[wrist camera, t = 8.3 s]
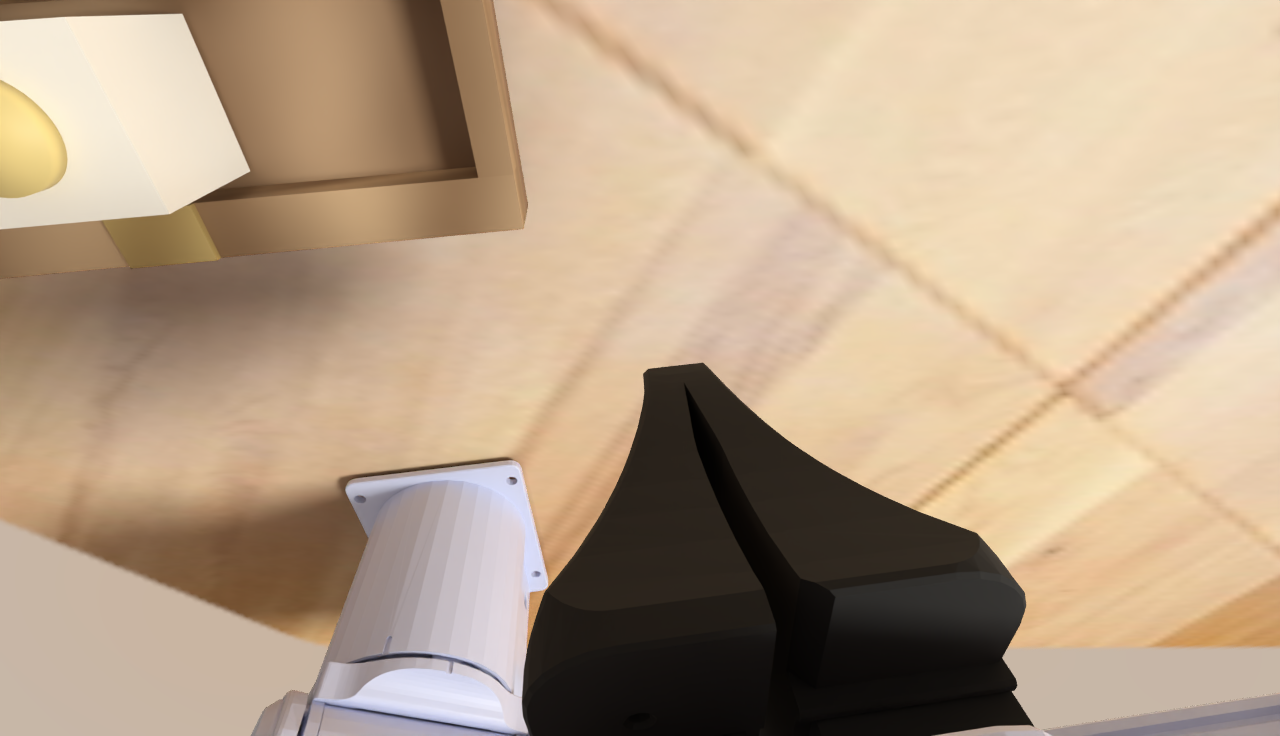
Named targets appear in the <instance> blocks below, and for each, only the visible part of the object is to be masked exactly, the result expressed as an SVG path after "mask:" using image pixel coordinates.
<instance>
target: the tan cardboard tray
mask: <svg viewBox="0 0 1280 736" xmlns="http://www.w3.org/2000/svg"><path fill="white" fill-rule="evenodd" d="M155 14H183V16H184V19H185V21H186V23H187V26H188V28H189V30H190V33H191V35H192V37H193V40H194V42H195V44H196V46H197V49H198V51H199V53H200V56H201V58H202V60H203V63H204V65H205V67H206V70H207V72H208V74H209V76H210V79H211V81H212V83H213V86H214V88H215V90H216V93H217V95H218V97H219V100H220V102H221V104H222V107H223V109H224V111H225V113H226V116H227V118H228V120H229V123H230V125H231V127H232V130H233V132H234V134H235V137H236V139H237V141H238V144H239V146H240V148H241V150H242V153H243V155H244V157H245V160H246V162H247V164H248V167H249V169H250V172H248V173H246V174H244V175H242V176H241V177H239V178H237V179H235V180H233V181H231V182H229V183H227V184H225V185H224V186H222V187H220V188H218V189H216V190H214V191H212V192H210V193H209V194H207V195H205V196H203V197H201V198H199V199H197V200H195V201H193V202H192V203H190V204H188V205H186V206H184V207H182V208H180V209H178V210H177V211H175V212H173V213H171V214H166V215H155V216H143V217H132V218H121V219H110V220H99V221H88V222H77V223H66V224H55V225H44V226H33V227H21V228H10V229H0V279H3V278H13V277H24V276H34V275H45V274H55V273H66V272H76V271H87V270H97V269H108V268H118V267H129V266H130V268H131V269H132V268H143V267H153V266H164V265H174V264H185V263H195V262H206V261H216V260H219V259H220V258H224V257H234V256H245V255H255V254H266V253H276V252H287V251H297V250H308V249H318V248H329V247H339V246H350V245H360V244H371V243H381V242H392V241H402V240H413V239H423V238H434V237H444V236H455V235H466V234H476V233H487V232H497V231H508V230H518V229H524V224H525V218H526V213H527V208H528V202H527V196H526V190H525V185H524V179H523V173H522V167H521V161H520V155H519V150H518V144H517V138H516V132H515V126H514V120H513V115H512V109H511V103H510V97H509V91H508V85H507V80H506V74H505V68H504V62H503V56H502V50H501V45H500V39H499V33H498V27H497V21H496V15H495V10H494V4H493V0H0V21H13V20H28V19H42V18H57V17H81V16H118V15H155Z"/></svg>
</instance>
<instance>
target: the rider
mask: <svg viewBox="0 0 1280 736" xmlns="http://www.w3.org/2000/svg"><path fill="white" fill-rule="evenodd" d="M248 172H250V169H249V167H248V164H247V162H246V160H245V157H244V155H243V153H242V150H241V148H240V146H239V144H238V141H237V139H236V137H235V134H234V132H233V130H232V127H231V125H230V123H229V120H228V118H227V116H226V113H225V111H224V109H223V107H222V104H221V102H220V100H219V97H218V95H217V93H216V90H215V88H214V86H213V83H212V81H211V79H210V76H209V74H208V72H207V70H206V67H205V65H204V63H203V60H202V58H201V56H200V53H199V51H198V49H197V46H196V44H195V42H194V40H193V37H192V35H191V33H190V30H189V28H188V26H187V23H186V21H185V19H184V16H183V14H155V15H118V16H81V17H57V18H42V19H28V20H13V21H0V229H10V228H21V227H33V226H44V225H55V224H66V223H77V222H88V221H99V220H110V219H121V218H132V217H143V216H155V215H166V214H171V213H173V212H175V211H177V210H178V209H180V208H182V207H184V206H186V205H188V204H190V203H192V202H193V201H195V200H197V199H199V198H201V197H203V196H205V195H207V194H209V193H210V192H212V191H214V190H216V189H218V188H220V187H222V186H224V185H225V184H227V183H229V182H231V181H233V180H235V179H237V178H239V177H241V176H242V175H244V174H246V173H248Z"/></svg>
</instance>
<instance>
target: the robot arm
mask: <svg viewBox="0 0 1280 736" xmlns="http://www.w3.org/2000/svg"><path fill="white" fill-rule="evenodd" d="M643 377H644V391H645V392H644V400H643V407H642V411H641V416H640V420H639V425H638V428H637V432H636V435H635V438H634V441H633V444H632V447H631V450H630V453H629V456H628V459H627V461H626V464H625V466H624V469H623V471H622V473H621V476H620V478H619V480H618V482H617V484H616V487H615V489H614V491H613V492H612V494H611V496H610V498H609V500H608V502H607V504H606V506H605V508H604V510H603V511H602V513H601V515H600V517H599V518H598V520H597V522H596V523H595V525H594V526H593V528H592V529H591V531H590V532H589V534H588V535H587V537H586V538H585V540H584V541H583V543H582V544H581V546H580V547H579V549H578V550H577V552H576V553H575V555H574V556H573V557H572V559H571V560H570V561H569V562H568V564H567V565H566V566H565V567H564V569H563V570H562V571H561V572H560V574H559V575H558V576H557V577H556V579H555V580H554V581H553V582H552V584H551V585H550V586H549V587H548V589H547V590H546V591H545V593H544V595H543V598H542V601H541V604H540V607H539V610H538V613H537V616H536V619H535V622H534V626H533V629H532V632H531V636H530V640H529V644H528V648H527V654H526V646H527V629H528V613H529V597H530V592H535V591H541V590H544V589H546V588H547V586H548V577H547V572H546V568H545V564H544V560H543V556H542V552H541V548H540V543H539V539H538V535H537V531H536V527H535V523H534V518H533V514H532V510H531V506H530V502H529V498H528V494H527V489H526V485H525V481H524V477H523V473H522V469H521V466H520V464H519V463H518V462H516V461H513V460H506V461H498V462H489V463H481V464H473V465H464V466H456V467H447V468H439V469H431V470H422V471H414V472H405V473H397V474H389V475H380V476H372V477H363V478H355V479H352V480H350V481H349V482H348V484H347V486H346V488H345V492H346V494H347V496H348V498H349V500H350V502H351V504H352V506H353V508H354V510H355V512H356V514H357V516H358V518H359V520H360V522H361V524H362V527H363V529H364V531H365V533H366V535H367V537H368V542H367V544H366V547H365V550H364V553H363V555H362V558H361V561H360V563H359V566H358V569H357V572H356V574H355V577H354V580H353V582H352V585H351V588H350V590H349V593H348V596H347V599H346V601H345V604H344V607H343V609H342V612H341V615H340V618H339V620H338V623H337V626H336V628H335V631H334V634H333V636H332V639H331V642H330V645H329V647H328V650H327V653H326V655H325V658H324V661H323V664H322V666H321V669H320V672H319V675H318V677H317V680H316V682H315V684H314V686H313V688H312V689H311V691H310V693H309V695H308V693H304V692H299V691H295V690H292V691H289V692H288V693H286V695H285V696H284V698H283V699H282V700H278V701H276V702H275V703H273V704H271V705H270V706H268V707H266V708H265V709H264V711H263V712H262V714H261V716H260V718H259V720H258V722H257V724H256V726H255V728H254V730H253V732H252V734H251V736H1280V693H1274V694H1268V695H1262V696H1255V697H1249V698H1242V699H1236V700H1230V701H1223V702H1217V703H1211V704H1204V705H1198V706H1191V707H1185V708H1179V709H1173V710H1165V711H1160V712H1153V713H1147V714H1140V715H1133V716H1127V717H1121V718H1114V719H1108V720H1101V721H1095V722H1089V723H1082V724H1076V725H1070V726H1063V727H1057V728H1050V729H1044V730H1040V729H1037V728H1035V727H1034V725H1033V724H1032V722H1031V721H1030V719H1029V718H1028V716H1027V715H1026V713H1025V712H1024V710H1023V709H1022V707H1021V705H1020V704H1019V702H1018V701H1017V699H1016V698H1015V696H1014V695H1013V693H1012V691H1014V690H1015V689H1016V687H1017V682H1016V678H1015V677H1014V675H1013V674H1012V672H1011V671H1010V669H1009V668H1008V667H1007V665H1006V664H1005V662H1004V660H1003V659H1002V657H1003V655H1004V653H1005V651H1006V649H1007V648H1008V646H1009V644H1010V642H1011V640H1012V638H1013V637H1014V635H1015V633H1016V631H1017V629H1018V627H1019V626H1020V623H1021V620H1022V617H1023V615H1024V612H1025V608H1026V600H1025V592H1024V591H1023V590H1022V588H1021V587H1020V586H1019V585H1018V583H1017V582H1016V581H1015V579H1014V578H1013V577H1012V576H1011V574H1010V573H1009V571H1008V570H1007V569H1006V567H1005V566H1004V565H1003V563H1002V562H1001V561H1000V559H999V558H998V557H997V555H996V554H995V553H994V552H993V551H992V550H991V549H990V547H989V546H988V545H987V544H986V543H985V542H984V541H983V540H982V538H981V537H980V536H979V535H978V534H977V533H975V532H972V531H969V530H967V529H964V528H961V527H958V526H956V525H953V524H950V523H948V522H945V521H942V520H940V519H937V518H934V517H931V516H929V515H926V514H923V513H921V512H918V511H916V510H913V509H911V508H909V507H907V506H904V505H902V504H900V503H898V502H895V501H893V500H891V499H889V498H886V497H884V496H882V495H880V494H878V493H876V492H874V491H872V490H870V489H868V488H866V487H864V486H862V485H860V484H858V483H856V482H854V481H852V480H851V479H849V478H847V477H845V476H843V475H841V474H840V473H838V472H836V471H834V470H832V469H831V468H829V467H827V466H826V465H824V464H822V463H821V462H819V461H818V460H816V459H815V458H813V457H811V456H810V455H808V454H807V453H805V452H804V451H802V450H801V449H799V448H798V447H796V446H795V445H793V444H792V443H791V442H789V441H788V440H787V439H785V438H784V437H783V436H781V435H780V434H779V433H778V432H776V431H775V430H774V429H773V428H771V427H770V426H769V425H768V424H767V423H765V422H764V421H763V420H762V419H761V418H759V417H758V416H757V415H756V414H755V413H754V412H753V411H752V410H751V409H750V408H748V407H747V406H746V405H745V404H744V403H743V402H742V401H741V400H740V399H739V398H738V397H737V396H736V395H735V394H734V393H733V392H732V391H730V390H729V389H728V388H727V387H726V386H725V384H724V383H723V382H722V381H721V380H720V379H719V378H718V377H717V376H716V375H715V374H714V373H713V372H712V371H711V370H710V369H709V368H708V367H707V366H706V365H705V364H704V363H697V364H688V365H679V366H670V367H661V368H652V369H648V370H647V371H646V372H645V373H644V374H643ZM509 477H515V479H510V478H509ZM358 495H361V496H364V497H360V496H358Z"/></svg>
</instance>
